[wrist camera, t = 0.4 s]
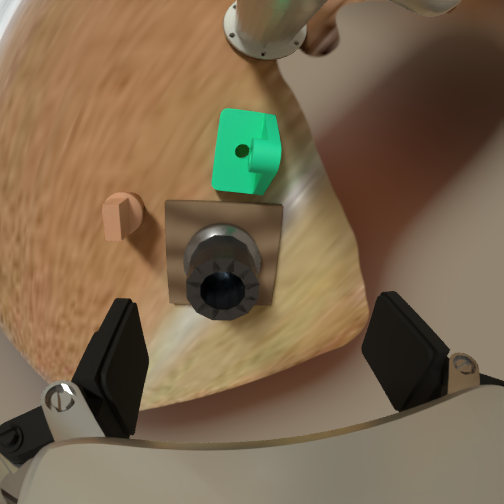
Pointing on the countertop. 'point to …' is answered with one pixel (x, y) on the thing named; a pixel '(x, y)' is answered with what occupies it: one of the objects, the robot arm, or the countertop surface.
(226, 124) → the camera mount
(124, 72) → the countertop surface
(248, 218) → the mount board
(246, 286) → the black hollow cylinder
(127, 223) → the tan knob
